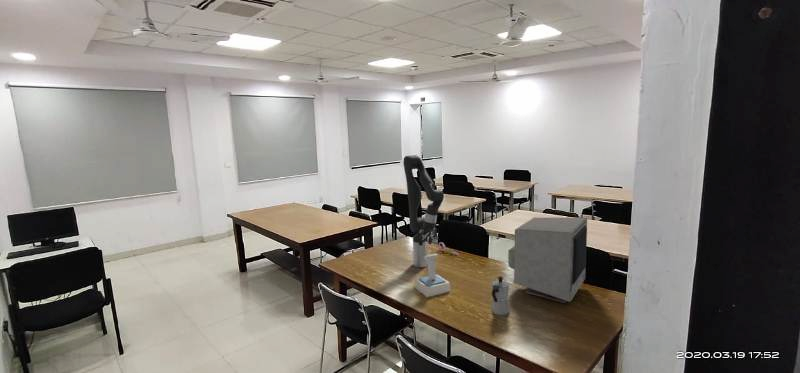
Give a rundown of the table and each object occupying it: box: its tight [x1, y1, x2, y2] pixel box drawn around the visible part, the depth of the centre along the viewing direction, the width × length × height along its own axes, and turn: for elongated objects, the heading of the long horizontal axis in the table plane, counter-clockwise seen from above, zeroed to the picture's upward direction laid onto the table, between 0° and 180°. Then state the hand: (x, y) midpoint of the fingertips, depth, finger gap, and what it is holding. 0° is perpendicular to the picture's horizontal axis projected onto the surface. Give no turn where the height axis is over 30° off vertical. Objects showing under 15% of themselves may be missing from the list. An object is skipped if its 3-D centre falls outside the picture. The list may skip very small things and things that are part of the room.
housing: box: [414, 273, 451, 298], centre depth 213 cm, size 15×15×5 cm
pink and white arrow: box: [438, 241, 460, 256], centre depth 276 cm, size 7×1×20 cm
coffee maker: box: [491, 275, 511, 316], centre depth 183 cm, size 15×9×18 cm, turn 141°
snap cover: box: [418, 253, 446, 287], centre depth 212 cm, size 11×11×16 cm
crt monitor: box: [507, 217, 588, 304], centre depth 203 cm, size 35×37×40 cm
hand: (424, 244), depth 235 cm, fingers open, 8 cm apart
